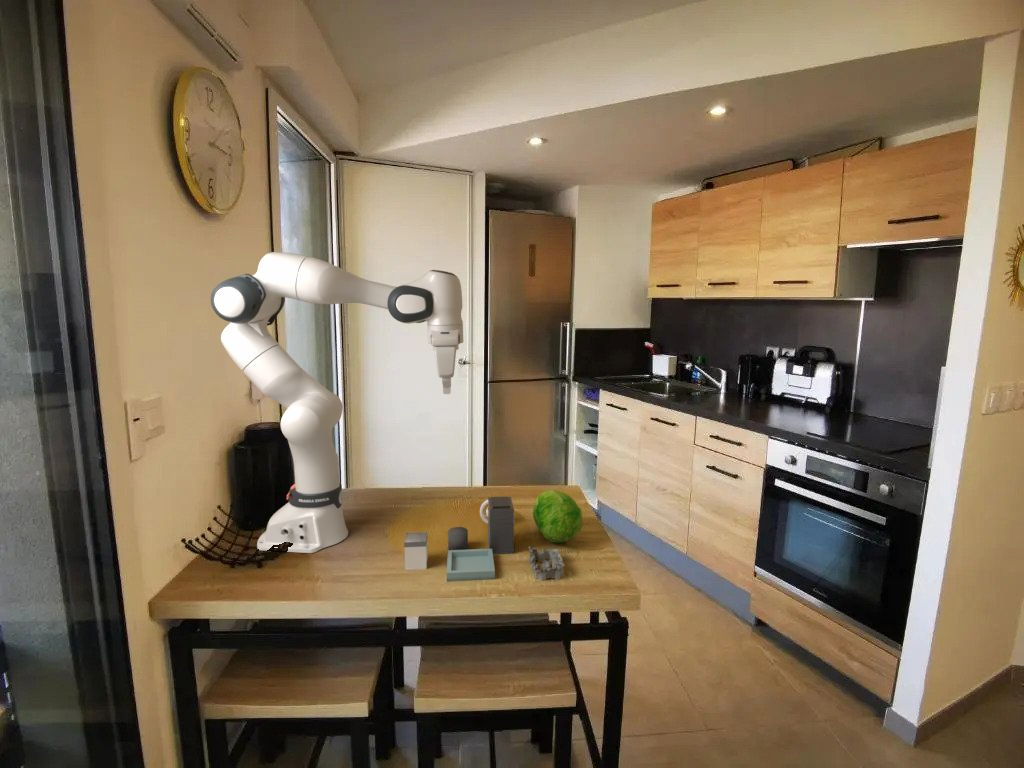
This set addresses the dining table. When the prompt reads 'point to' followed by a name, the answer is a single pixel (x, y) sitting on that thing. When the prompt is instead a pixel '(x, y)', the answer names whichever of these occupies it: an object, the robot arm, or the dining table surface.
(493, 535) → the block
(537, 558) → the gray jagged ring
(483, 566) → the tray
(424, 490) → the dining table surface
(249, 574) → the dining table surface
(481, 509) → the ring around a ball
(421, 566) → the cartridge
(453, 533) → the knob
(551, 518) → the lettuce
